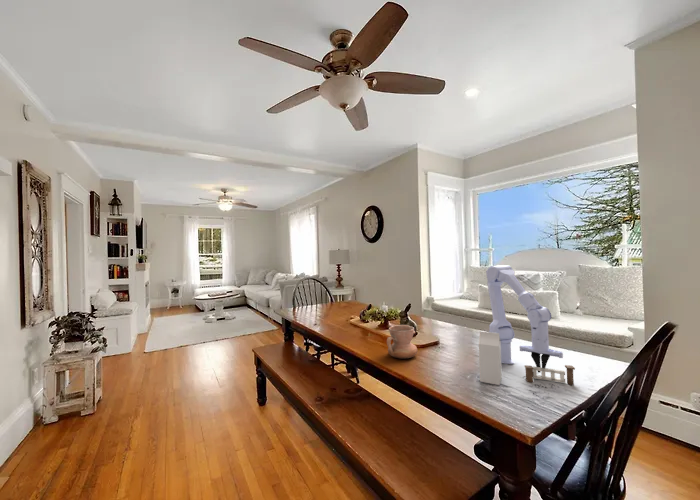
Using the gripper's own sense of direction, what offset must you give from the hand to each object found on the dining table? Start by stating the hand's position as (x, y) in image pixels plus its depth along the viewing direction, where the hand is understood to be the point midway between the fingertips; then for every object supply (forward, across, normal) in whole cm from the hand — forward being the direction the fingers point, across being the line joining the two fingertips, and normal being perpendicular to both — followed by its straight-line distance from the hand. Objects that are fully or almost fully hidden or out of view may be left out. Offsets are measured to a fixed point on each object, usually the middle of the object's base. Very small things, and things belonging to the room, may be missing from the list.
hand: (541, 372), depth 120 cm
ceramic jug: (+2, +57, +13) cm, 59 cm away
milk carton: (+2, +15, +15) cm, 21 cm away
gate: (+2, -3, +2) cm, 4 cm away
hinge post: (+2, -9, 0) cm, 10 cm away
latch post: (+2, +3, +7) cm, 8 cm away
